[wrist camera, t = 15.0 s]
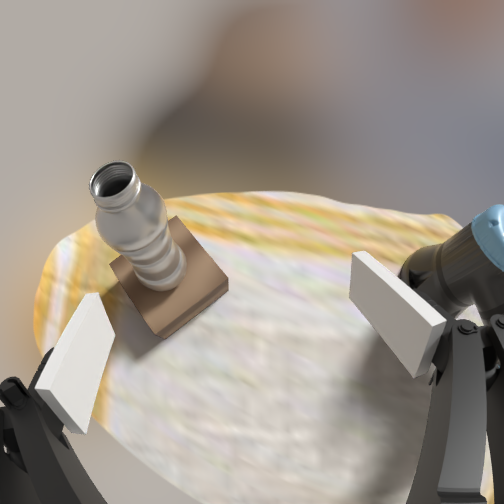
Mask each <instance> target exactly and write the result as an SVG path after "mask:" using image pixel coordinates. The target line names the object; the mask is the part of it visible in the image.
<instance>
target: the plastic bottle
mask: <svg viewBox="0 0 504 504" xmlns="http://www.w3.org/2000/svg"><path fill="white" fill-rule="evenodd" d="M89 189H90V192H91V195H92V196H93V198H94V201H95V203H96V205H97V206H98V208H97V211H96V218H95V220H96V226H97V230H98V233H99V235H100V237H101V238H102V240H103V241H104V242H105V243H106V244H107V245H109V246H110V247H111V248H113V249H114V250H115V251H117V252H118V253H120V254H121V255H123V256H124V257H125V258H126V259H127V260H128V261H129V262H130V263H131V265H132V267H133V268H134V272H135V274H136V276H137V278H138V280H139V281H140V282H141V283H142V284H143V285H144V286H146V287H148V288H150V289H152V290H155V291H168V290H171V289H173V288H175V287H176V286H177V285H179V284H180V283H181V281H182V280H183V278H184V277H185V274H186V266H187V262H186V257H185V254H184V253H183V251H182V250H181V248H180V247H179V246H178V245H177V244H176V243H175V242H174V240H173V239H172V237H171V234H170V231H169V228H168V218H167V210H166V206H165V203H164V200H163V198H162V197H161V196H160V195H159V193H158V192H156V191H155V190H154V189H153V188H152V187H150V186H149V185H146V184H144V183H141V182H140V180H139V178H138V176H137V175H136V172H135V170H134V168H133V167H132V165H131V164H129V163H128V162H126V161H120V160H118V161H112V162H109V163H106V164H104V165H103V166H101V167H100V168H99V169H97V170H96V172H95V173H94V174H93V175H92V177H91V179H90V183H89Z"/></svg>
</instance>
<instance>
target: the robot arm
mask: <svg viewBox="0 0 504 504" xmlns="http://www.w3.org/2000/svg"><path fill="white" fill-rule="evenodd" d="M349 298H350V299H351V301H352V302H353V303H354V304H355V305H356V307H357V308H358V309H359V310H360V311H361V313H362V314H363V315H364V316H365V318H366V319H367V320H368V321H369V322H370V324H371V325H372V326H373V327H374V329H375V330H376V331H377V332H378V334H379V335H380V336H381V337H382V339H383V340H384V341H385V342H386V344H387V345H388V346H389V347H390V349H391V350H392V351H393V352H394V354H395V355H396V356H397V358H398V359H399V360H400V361H401V363H402V364H403V365H404V367H405V368H406V369H407V371H408V372H409V373H410V374H411V376H412V377H413V378H416V377H419V376H421V375H423V374H425V373H427V372H428V370H429V367H430V365H431V363H433V364H434V365H435V366H436V369H435V371H434V373H433V375H432V378H431V380H430V382H429V385H431V384H432V382H433V387H432V395H431V402H430V409H429V415H428V421H427V427H426V432H425V437H424V442H423V446H422V451H421V455H420V459H419V463H418V466H417V470H416V474H415V477H414V481H413V484H412V487H411V490H410V493H409V496H408V499H407V502H406V504H487V501H486V498H485V497H484V496H482V495H481V494H480V486H481V480H482V474H483V466H484V457H485V445H486V431H487V436H488V442H489V448H490V455H491V463H492V472H493V483H494V504H504V205H494V206H492V207H490V208H488V209H487V210H486V211H485V212H483V213H481V214H478V215H477V216H476V217H474V219H473V221H472V222H471V223H469V224H468V225H467V226H466V227H464V228H463V229H462V230H460V231H459V232H458V233H456V234H455V235H454V236H452V237H451V238H449V239H448V240H447V241H446V242H444V243H443V244H437V245H432V246H427V247H423V248H420V249H418V250H417V251H416V252H414V253H413V254H412V255H410V256H409V257H408V258H407V260H406V261H405V263H404V265H403V268H402V271H401V278H400V279H399V278H398V277H397V276H395V275H394V274H393V273H392V272H391V271H389V270H388V269H387V268H386V267H384V266H383V265H382V264H381V263H380V262H378V261H377V260H376V259H375V258H373V257H372V256H371V255H370V254H368V253H367V252H366V251H360V252H354V253H352V265H351V280H350V293H349ZM473 304H475V305H476V307H477V310H478V312H479V314H480V316H481V319H482V322H483V324H484V326H480V327H478V326H477V325H476V324H475V323H473V322H471V321H469V320H466V319H460V320H455V319H456V318H457V317H458V316H459V315H460V314H461V313H462V312H463V311H464V310H465V309H466V308H467V307H468V306H471V305H473ZM114 338H115V333H114V331H113V328H112V326H111V324H110V321H109V319H108V316H107V314H106V311H105V309H104V306H103V304H102V301H101V299H100V296H99V293H98V292H97V293H90V294H86V295H85V296H84V298H83V300H82V301H81V303H80V304H79V306H78V308H77V309H76V311H75V313H74V314H73V316H72V318H71V319H70V321H69V323H68V325H67V326H66V328H65V330H64V332H63V333H62V335H61V337H60V339H59V341H58V342H57V344H56V346H55V348H51V349H50V350H49V351H48V352H47V353H46V354H45V356H44V358H43V360H42V362H41V364H40V365H39V367H38V371H36V373H35V375H34V377H33V379H32V381H31V384H30V386H29V388H28V390H27V389H26V388H25V386H24V385H23V383H22V382H21V380H20V379H19V378H17V377H10V378H7V379H6V380H4V381H3V382H2V383H1V384H0V400H1V401H2V402H3V403H4V405H5V407H0V504H107V502H106V501H105V500H104V498H103V497H102V495H101V494H100V493H99V491H98V490H97V488H96V487H95V485H94V484H93V482H92V481H91V479H90V477H89V476H88V474H87V473H86V471H85V469H84V468H83V466H82V464H81V463H80V461H79V459H78V457H77V456H76V454H75V452H74V450H73V448H72V447H71V445H70V443H69V441H68V439H67V437H66V435H65V434H64V433H63V432H62V430H63V426H64V425H65V426H66V428H67V429H68V430H69V431H70V432H71V433H76V434H86V433H87V429H88V425H89V421H90V417H91V413H92V409H93V405H94V402H95V398H96V395H97V391H98V388H99V384H100V381H101V378H102V374H103V371H104V368H105V365H106V362H107V359H108V356H109V353H110V350H111V347H112V344H113V341H114ZM4 446H5V447H6V448H7V453H5V451H4Z"/></svg>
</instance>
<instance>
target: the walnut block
mask: <svg viewBox="0 0 504 504" xmlns="http://www.w3.org/2000/svg"><path fill="white" fill-rule="evenodd" d="M168 228H169V231H170V234H171V237H172V239H173V240H174V242H175V243H176V244H177V245H178V246H179V247H180V248H181V250H182V251H183V253H184V254H185V257H186V262H187V266H186V274H185V277H184V278H183V280H182V281H181V283H180V284H179V285H177V286H176V287H175V288H173V289H171V290H168V291H155V290H152V289H150V288H148V287H146V286H144V285H143V284H142V283H141V282H140V281H139V280H138V278H137V276H136V274H135V272H134V268H133V267H132V265H131V263H130V262H129V261H128V260H127V259H126V258H125V257H124V256H123V255H120V256H119V257H118V258H116V259H115V260H114V261H112V262H111V263H110V264H109V265H110V267H111V268H112V270H113V272H114V273H115V275H116V277H117V278H118V280H119V282H120V283H121V285H122V286H123V288H124V290H125V291H126V293H127V294H128V296H129V297H130V299H131V300H132V302H133V303H134V305H135V306H136V308H137V309H138V311H139V312H140V314H141V315H142V317H143V318H144V320H145V321H146V323H147V324H148V326H149V327H150V328H151V330H152V331H153V333H154V334H155V335H157V336H159V337H161V338H163V339H166V338H167V337H169V336H170V335H171V334H173V333H174V332H175V331H177V330H178V329H179V328H180V327H182V326H183V325H184V324H186V323H187V322H188V321H190V320H191V319H192V318H193V317H195V316H196V315H197V314H199V313H200V312H201V311H203V310H204V309H205V308H206V307H208V306H209V305H210V304H212V303H213V302H214V301H215V300H217V299H218V298H219V297H221V296H222V295H223V294H224V293H226V292H227V291H228V277H227V276H226V275H225V273H224V272H223V271H222V270H221V269H220V268H219V266H218V265H217V264H216V263H215V262H214V260H213V259H212V258H211V257H210V256H209V254H208V253H207V252H206V251H205V250H204V248H203V247H202V246H201V245H200V244H199V242H198V241H197V240H196V239H195V238H194V236H193V235H192V234H191V233H190V232H189V230H188V229H187V228H186V227H185V225H184V224H183V223H182V222H181V220H180V219H179V218H178V217H177V216H175V217H173V218H172V219H170V220H169V221H168Z"/></svg>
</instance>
